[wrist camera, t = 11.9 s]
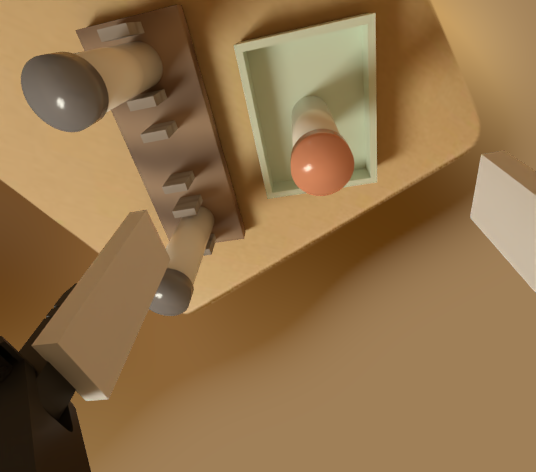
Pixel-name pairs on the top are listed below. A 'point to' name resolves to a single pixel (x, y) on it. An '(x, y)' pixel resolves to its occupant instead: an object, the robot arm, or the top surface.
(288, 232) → the top surface
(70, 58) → the fuse
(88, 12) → the top surface
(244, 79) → the tray
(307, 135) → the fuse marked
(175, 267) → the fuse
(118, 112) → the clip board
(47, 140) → the top surface
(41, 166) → the top surface
